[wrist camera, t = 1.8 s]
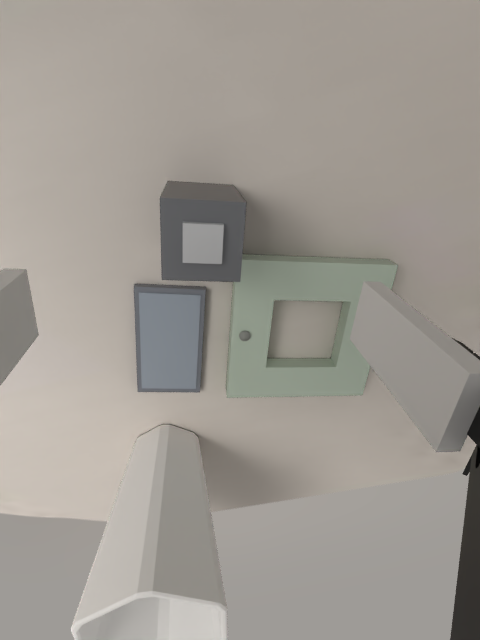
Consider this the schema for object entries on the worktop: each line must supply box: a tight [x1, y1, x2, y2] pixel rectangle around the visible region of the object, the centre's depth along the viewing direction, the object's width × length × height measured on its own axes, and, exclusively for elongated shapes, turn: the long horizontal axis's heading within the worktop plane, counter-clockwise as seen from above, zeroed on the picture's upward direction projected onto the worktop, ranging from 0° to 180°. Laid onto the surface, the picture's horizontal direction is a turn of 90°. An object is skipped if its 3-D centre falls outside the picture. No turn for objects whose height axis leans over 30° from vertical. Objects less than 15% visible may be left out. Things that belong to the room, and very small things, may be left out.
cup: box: [71, 424, 228, 640], centre depth 33 cm, size 11×10×17 cm
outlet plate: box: [226, 254, 398, 398], centre depth 35 cm, size 14×14×2 cm
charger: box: [160, 181, 246, 282], centre depth 26 cm, size 5×5×8 cm
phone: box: [134, 284, 206, 392], centre depth 34 cm, size 11×6×1 cm, turn 174°
